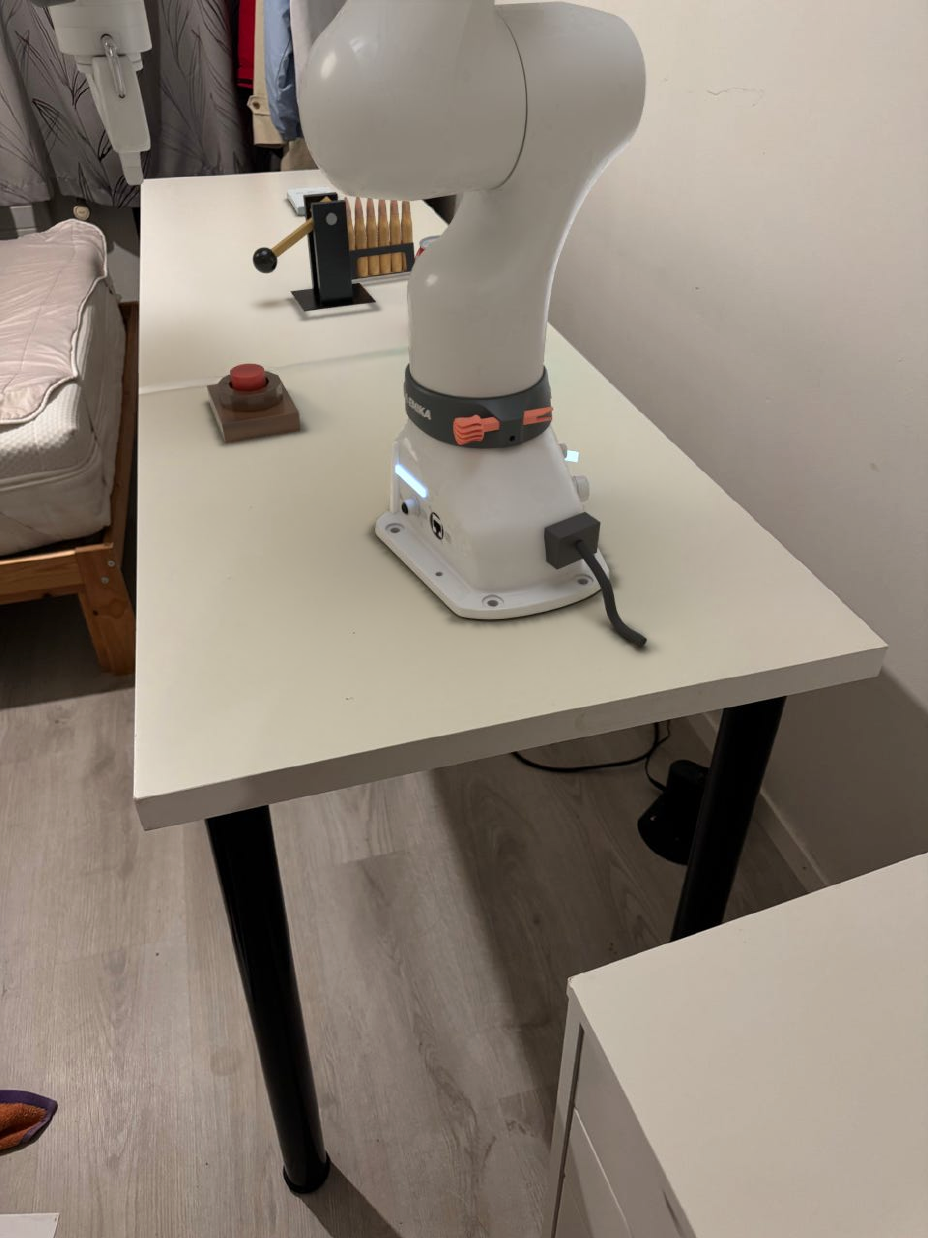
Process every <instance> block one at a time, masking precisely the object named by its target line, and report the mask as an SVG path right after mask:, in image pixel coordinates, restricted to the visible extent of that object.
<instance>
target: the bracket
mask: <svg viewBox="0 0 928 1238" xmlns="http://www.w3.org/2000/svg"><path fill="white" fill-rule="evenodd" d="M325 197H328V198H329V199H330V200H331V201H326V202H320V201H321V200H323V199H324V198H325ZM303 199H304V209H305V215H304V218H305V222H306V221H308V220H309V219H310V218H311V217H312V222H313V230H312V231H311V232H309V233H308V234H307V235H306V237H307V239H306V240H307V247H308V259H309V270H310V277H311V278H310V279H311V287H312V288H305V289H297V290H296V289H295V290H291V291H290V294H291V295H292V296H293V298H294V299H295V301H296V303H298V305H299V306H300V308H301V309H302V310H303V312H304V313H305V312H311V311H318V310H319V311H320V310H326V309H327V310H328V309H334V308H335V309H336V308H341V307H349V306H359V305H364V304H365V305H366V304H373V303H377V301H376V299H374V297H373V296H372V295H371V294H370V293H369V291H367V289H365V287H364V285H362V284H361V282H354V283H353V280H352V279H351V265H350V251H349V237H348V224H347V210H346V201H344V199H339V194H338V192H336V191H333V192H331V193H320V194H309V195H303ZM338 199H339V200H338ZM310 209H311V211H310Z"/></svg>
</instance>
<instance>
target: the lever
mask: <svg viewBox="0 0 928 1238" xmlns="http://www.w3.org/2000/svg"><path fill="white" fill-rule="evenodd" d="M326 201H331V200H330V199H329V198H328V197H325V198H324V199H323V200H321V201H320V202H326ZM310 211H311V209H310ZM312 230H313V222H312V217H311V218H310V219H309V220H308V221H306V220H305V222H304V223H302V224H301V225H300V226H299V227H297V228H296V229H295V230H293V231H292V232H291V233H290V234H289V235H287V236H286V237H285V238H283V239H282V240H280V241H279V242H278V243H277V244H276V245H274V246H273V247H272V248H269V247H267V246H266V247H265V246H264V247H263V246H262V247H259V248H257V249H256V250H255V251H254V253H253V255H252V264H253V266H254V268H255V269H256V271H258V272H259V273H261V274H271V273H272V272H275V270H276V268H277V267H278V263H279V262H278V259H279V257H280V256H281V255H283V254H284V253H285V252H287V251H288V250H289V249H291V248H292V247H293V246H294V245H296V244H297V243H298V242H299V241H300V240H302V239H303V238H304V237H307V234H308V233H309V232H311V231H312Z"/></svg>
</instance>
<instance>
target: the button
mask: <svg viewBox="0 0 928 1238" xmlns="http://www.w3.org/2000/svg"><path fill="white" fill-rule="evenodd" d="M265 371H266V370H265V367H264V366H263V365H262V364H258V363H241V364H238V365H235V366H233V367H232V368H231V369H230V370H229V375H230V377H231V383H232V388H233V389H235V390H237V391H254V390H259V389H261V388H263V387H266V385H267V384H266V377H265Z"/></svg>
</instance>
